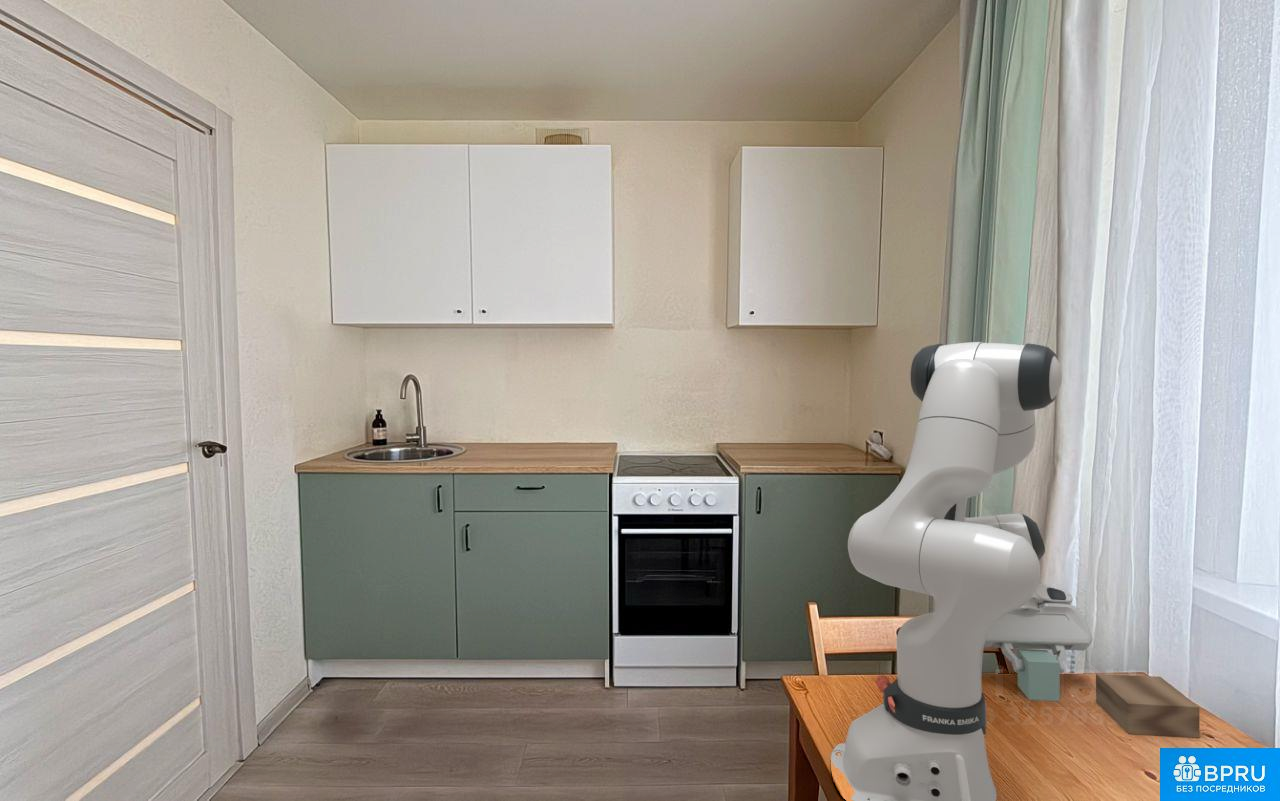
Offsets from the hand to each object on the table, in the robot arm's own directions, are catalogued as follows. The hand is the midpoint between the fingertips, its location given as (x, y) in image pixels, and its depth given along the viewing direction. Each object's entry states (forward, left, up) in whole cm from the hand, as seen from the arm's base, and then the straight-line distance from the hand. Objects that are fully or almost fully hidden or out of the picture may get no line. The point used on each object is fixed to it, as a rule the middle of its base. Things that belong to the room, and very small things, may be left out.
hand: (1039, 671), depth 115 cm
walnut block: (+14, -6, -4) cm, 16 cm away
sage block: (0, +1, -4) cm, 4 cm away
